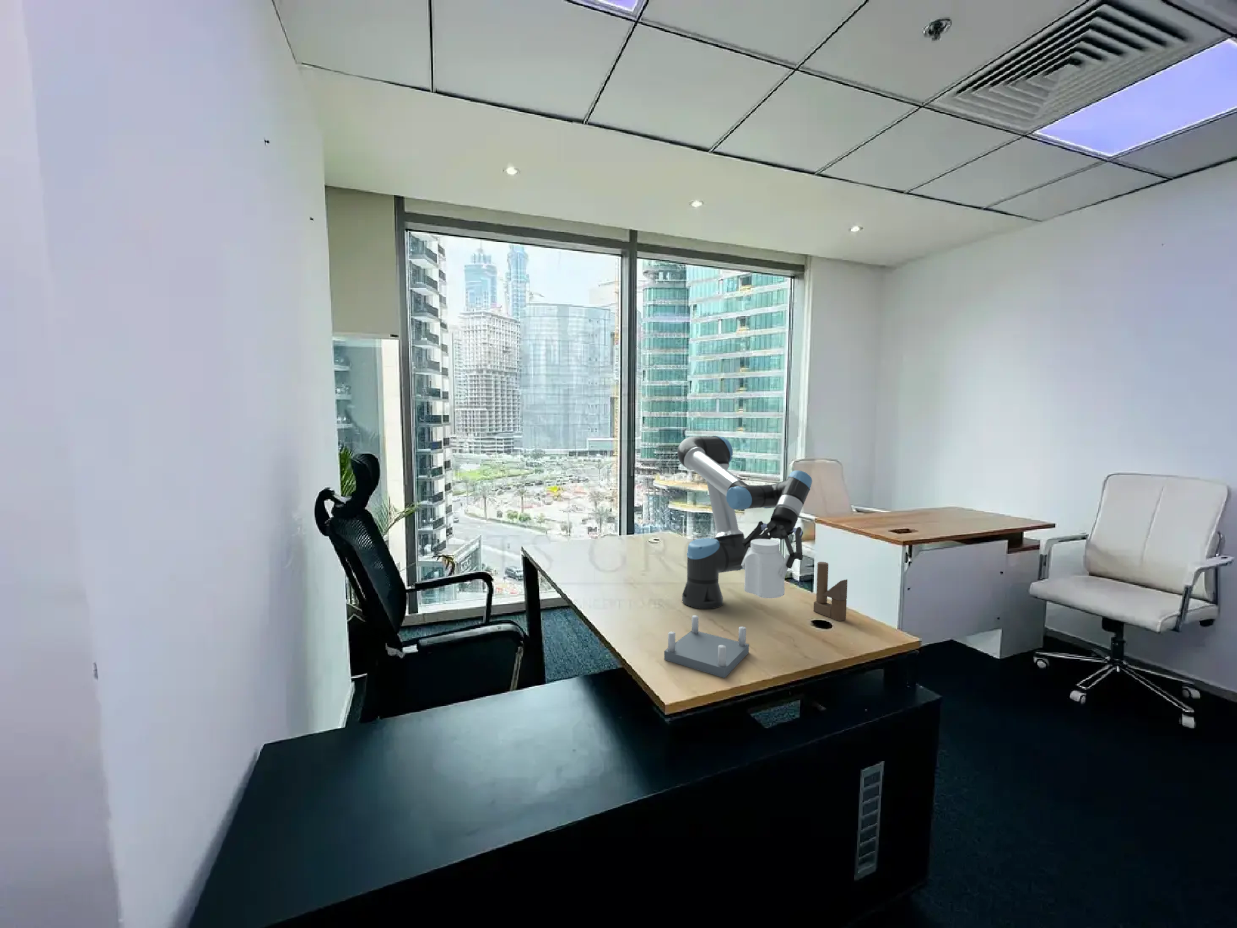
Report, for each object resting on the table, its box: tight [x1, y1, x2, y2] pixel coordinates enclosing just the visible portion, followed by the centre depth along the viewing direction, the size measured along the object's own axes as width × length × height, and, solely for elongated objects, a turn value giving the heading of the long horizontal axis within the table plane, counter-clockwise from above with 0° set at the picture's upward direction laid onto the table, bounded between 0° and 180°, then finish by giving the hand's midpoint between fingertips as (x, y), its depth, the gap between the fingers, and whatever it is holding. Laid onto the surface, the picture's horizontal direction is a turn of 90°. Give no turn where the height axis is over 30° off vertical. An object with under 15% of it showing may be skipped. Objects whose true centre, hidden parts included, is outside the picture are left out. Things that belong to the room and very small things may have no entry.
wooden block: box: [813, 561, 848, 622], centre depth 171 cm, size 4×11×18 cm, turn 29°
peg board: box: [663, 614, 750, 679], centre depth 140 cm, size 18×18×8 cm
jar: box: [743, 539, 786, 599], centre depth 145 cm, size 12×10×15 cm
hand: (761, 571), depth 144 cm, fingers closed on jar, 11 cm apart
